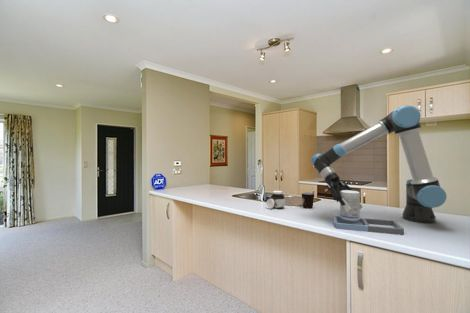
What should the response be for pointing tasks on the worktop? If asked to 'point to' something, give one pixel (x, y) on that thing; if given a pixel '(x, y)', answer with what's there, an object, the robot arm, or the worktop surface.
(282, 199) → the spread jar
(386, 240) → the worktop surface
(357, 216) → the supplement tub
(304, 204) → the coffee mug
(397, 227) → the bay frame
